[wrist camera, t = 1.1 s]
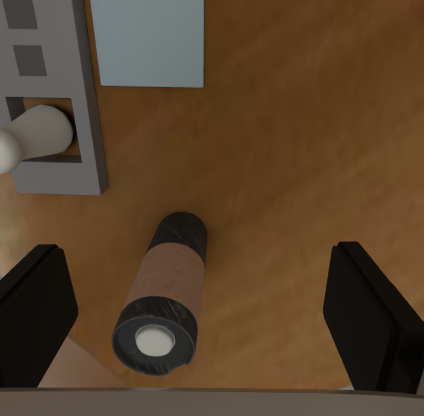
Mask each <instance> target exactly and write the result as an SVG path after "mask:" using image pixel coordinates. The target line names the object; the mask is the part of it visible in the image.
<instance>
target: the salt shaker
mask: <svg viewBox="0 0 424 416" xmlns="http://www.w3.org/2000/svg"><path fill="white" fill-rule="evenodd" d="M73 133H74V128H73V126H72V124H71V122H70V120H69V118H68V116H67V115H66V114H65V113H63V112H61V111H60V110H58V109H56V108H55V107H52V106H47V105H37V106H35V107H32V108H30V109H29V110H27V111H26V112H24V113H23V114H22V115H20V116H19V117H17V118H16V119H15V120H13V121H12V122H11V123H9V124H8V125H6V126H5V127H4V128H0V174H3V173H6V172H9V171H12V170H14V169H16V168H17V166H18V165H19V164H20V163H21V161H22V160H24V159H29V158H35V157H41V156H47V155H53V154H57V153H60V152H63V151H65V150H66V149H67V147H68V146H69V145H70V144H71V143H72V138H73Z"/></svg>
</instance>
